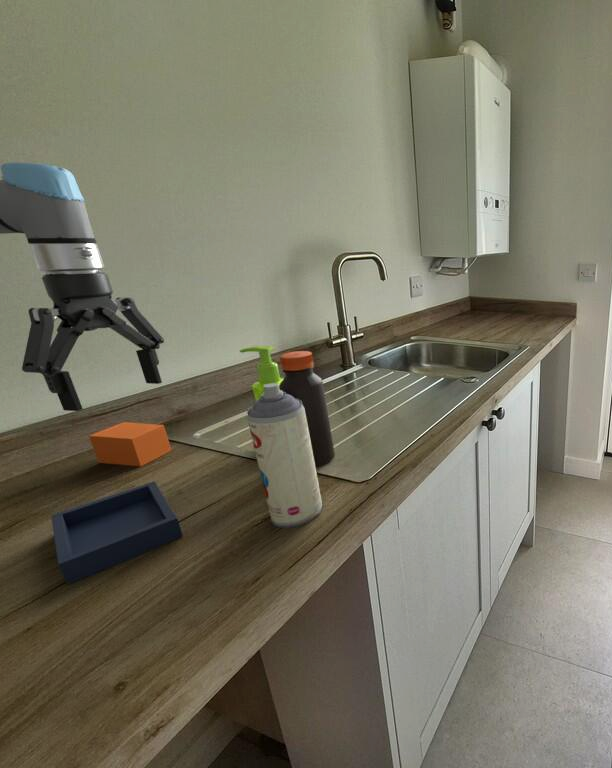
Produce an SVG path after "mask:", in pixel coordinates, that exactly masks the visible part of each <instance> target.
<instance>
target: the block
mask: <svg viewBox="0 0 612 768" xmlns="http://www.w3.org/2000/svg"><path fill="white" fill-rule="evenodd" d="M88 438H89V441H90V443H91V446H92V449H93V451H94V454H95V457H96V459H97V462H98V464H107V465H120V466H129V467H130V466H131V467H143V466H144V465H147V464H149V463H150V462H152V461H154V460H157V459H158V458H160V457H162V456H165V455H166V454H168V453H170V452H172V447H171V445H170V440H169V437H168V435H167V431H166V428H165V424H154V423H141V422H128V421H123V422H120V423H117V424H115V425H112V426H110V427H107V428H105V429H102V430H100V431H98V432H95V433H93V434H89V435H88Z"/></svg>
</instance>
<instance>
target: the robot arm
mask: <svg viewBox="0 0 612 768" xmlns="http://www.w3.org/2000/svg"><path fill="white" fill-rule="evenodd" d="M0 171H1V174H2V176H1V179H0V235H3V234H5V235H6V234H24V235H25V238H26V239H27V240H26V241H27V243H28V245H29V248H30V251H31V254H32V257H33V259H34V260H33V261H34V262H35V265H36V268H37V271H40V272H44V273H45V274H43V275H42V276H41V280H42V283H43V286H44V289H45V290H46V294H47V296H48V298H50V300H51V301H52V303H53V306H52V308H48V307H30V308H29V309H28V316H29V319H30V327H29V332H28V338H27V341H26V346H25V352H24V355H23V360H22V366H21V371H23V372H24V373H29V374H31V373H33V374H40V375H42V376H43V379H44V381H45V383H46V386H47V388H48V390H49V392H50V393H51V394H57V397H58V399H59V402H60V404H61V407H62V409H63V411H67V412H68V411H69V412H79V411H82V410H84V408H83V406H82V403H81V401H80V398H79V395H78V393H77V391H76V388H75V385H74V383H73V379H72V377H71V374H70V372H69V371H68V370H62V369H63V367H64V365H65V363H66V362H67V360H68V358H69V356H70V354H71V352H72V350H73V348H74V346H75V345H76V342H77V341H78V339H79V337H80V336H82V335H83V334H84V332H91V331H95V330H97V329H108V328H109V329H111V330H113V331H114V332H116V334H119V335H120V336H121V337H122V338H124V339H126V340H128V341H129V342H131V343H132V344H133V345H135V346H136V347H138V348H139V349H138V350H135V352H136V355H137V358H138V361H139V364H140V365H139V366H140V368H141V371H142V374H143V377H144V380H145V384H151V385H159V384H162V383H163V381H162V377H161V374H160V372H159V368H158V366H159V365H160V359H159V358H158V354H157V350H159V349H160V346H161V344H164V342H165V339H164V337H162V335H161V334H160V333H159V332H158V330H156V328H155V327H154V326H153V325H152V324H151V323H150V321H149V320H148V319H147V318H146V317H145V316H144V314H143V313H142V312H141V311H140V310H139V309H138V307H137V304H136V302H135V300H134V299H133V298H132V297H116V298H115V299H113V297H112V294H113V293H114V291H113V288H112V284H111V282H110V278H109V276H108V273H106V272H102V271H101V270H104V269H105V264H104V261H103V259H102V258H103V257H102V255H101V251H100V248H99V245H98V243H97V239H96V238H95V235H94V232H93V228H92V225H91V222H90V219H89V214H88V210H87V206H86V203H85V198H84V196H83V195H82V193H81V190H80V187H79V185H78V183H77V180H76V178H75V175H74V174H73V173H72V172H71V171H69V170H68V169H66V168H64V167H61V166H56V165H50V164H44V163H43V164H42V163H33V162H18V161H17V162H15V161H14V162H5V163H3V164H1V165H0ZM117 311H119V312H120V313H121V314H122V315H123V317H124V318H125V319H126V320H127V321H128V322H129V323H130V324H131V325H132V326H131V325H130V324H128V323H127V321H126V320H125V319H123V317H121V316H119V315H118V314H116V312H117ZM58 319H59V320H61V321H60V323H59V325H58V326H57V328H56V332H57V333H56V335H55V337H54V338H53V334H54V329H55V321H57V320H58ZM52 338H53V340H52Z"/></svg>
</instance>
